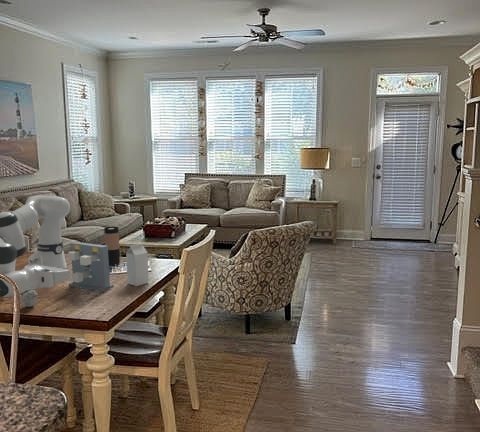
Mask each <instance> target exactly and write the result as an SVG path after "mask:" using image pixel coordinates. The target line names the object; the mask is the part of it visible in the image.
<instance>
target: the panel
mask: <svg viewBox="0 0 480 432" xmlns="http://www.w3.org/2000/svg"><path fill="white" fill-rule="evenodd" d="M71 251H81V256H84V255H87V256H91V255H94V254H97V253H98V254H99V258H100V259H99V260H95V261H92V262H91V264H90V265H87V266H85V265H80V257H79V260H75V261H73V260H71V272H72V273H71V275H72V274H73V273H76V272H79V273H82V272H85V271H88V270H91V276H89V277H86V278H84V279H83V281H81V282H79V283H78V282H70V283H68V286H69V287H75V288H80V289H85V290H90V291H96V292H104V291H107V290H109V289H112V288H114V287H115V285H114V284H112V283H110V281H111V280H110V265H109V260H108V246H105V244H97V243H95V244H94V243H88V242H81V241H80V242H79V241H73V242H70V252H71Z"/></svg>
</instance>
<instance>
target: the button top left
mask: <svg viewBox="0 0 480 432" xmlns="http://www.w3.org/2000/svg"><path fill="white" fill-rule="evenodd" d="M67 253H68V254H67V255H68V260H69V261H72V260H73V261H75V260H79V257H81V251H71V250H70V251H68V252H67Z"/></svg>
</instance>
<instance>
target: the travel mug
mask: <svg viewBox="0 0 480 432" xmlns="http://www.w3.org/2000/svg"><path fill="white" fill-rule="evenodd" d="M103 231H104V234H103V235H104V245H105V246H108V260H109V266H115V265H114V264H118V265H119V263H120V261H121V259H120V258H121V257H120V256H121V255H120V253H121V252H120V251H121V249H120V235H119V227H117V226H106V227H104V229H103Z"/></svg>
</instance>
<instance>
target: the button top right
mask: <svg viewBox="0 0 480 432" xmlns="http://www.w3.org/2000/svg"><path fill="white" fill-rule="evenodd" d="M95 260H100V258H99V253H97V254H94V255H91V256H87V255H84V256H81V257H80V265H85V266H87V265H90V264H91V262H92V261H95Z"/></svg>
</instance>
